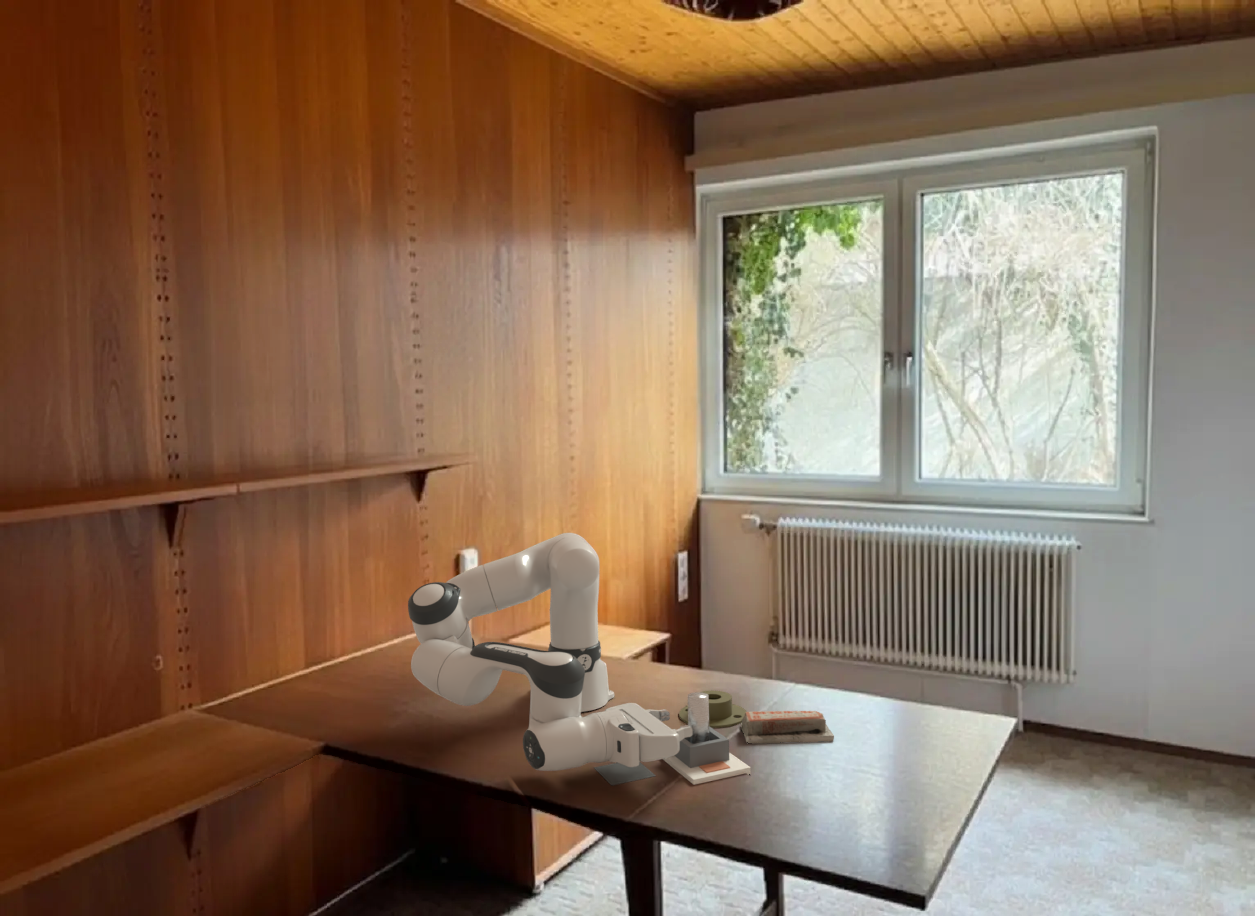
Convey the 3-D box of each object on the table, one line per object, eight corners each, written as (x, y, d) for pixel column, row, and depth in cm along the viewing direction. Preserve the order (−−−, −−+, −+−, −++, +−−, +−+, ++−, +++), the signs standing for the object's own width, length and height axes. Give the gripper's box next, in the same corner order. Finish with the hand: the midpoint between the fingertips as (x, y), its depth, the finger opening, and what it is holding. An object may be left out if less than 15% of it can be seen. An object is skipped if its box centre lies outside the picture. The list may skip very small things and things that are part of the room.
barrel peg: (685, 754, 183) (684, 694, 182) (703, 750, 184) (702, 691, 184) (695, 761, 179) (693, 700, 178) (713, 758, 181) (712, 697, 180)
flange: (692, 682, 218) (668, 703, 204) (755, 690, 211) (734, 711, 198) (693, 702, 218) (669, 724, 204) (755, 710, 212) (735, 733, 198)
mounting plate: (651, 753, 188) (651, 726, 187) (705, 742, 193) (704, 716, 192) (693, 787, 171) (693, 758, 171) (750, 775, 176) (750, 746, 176)
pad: (593, 770, 180) (593, 767, 180) (636, 761, 184) (636, 758, 184) (611, 788, 172) (611, 785, 172) (656, 779, 176) (656, 775, 176)
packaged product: (746, 723, 191) (739, 706, 201) (746, 746, 191) (740, 728, 201) (834, 720, 191) (823, 703, 201) (834, 743, 191) (824, 725, 201)
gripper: (591, 732, 183) (656, 721, 189) (635, 771, 165) (704, 756, 170) (591, 701, 183) (655, 690, 188) (634, 736, 164) (704, 722, 170)
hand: (679, 722), depth 179 cm, fingers open, 8 cm apart
